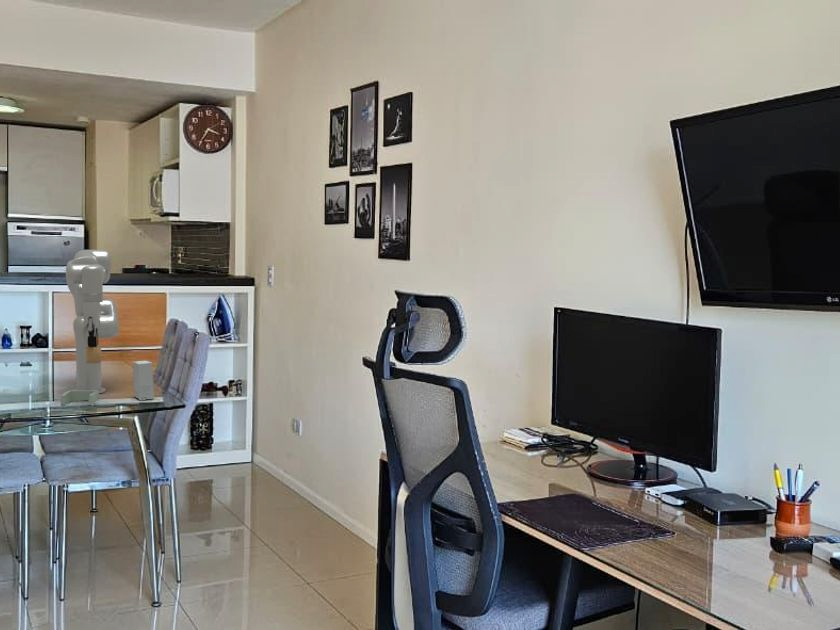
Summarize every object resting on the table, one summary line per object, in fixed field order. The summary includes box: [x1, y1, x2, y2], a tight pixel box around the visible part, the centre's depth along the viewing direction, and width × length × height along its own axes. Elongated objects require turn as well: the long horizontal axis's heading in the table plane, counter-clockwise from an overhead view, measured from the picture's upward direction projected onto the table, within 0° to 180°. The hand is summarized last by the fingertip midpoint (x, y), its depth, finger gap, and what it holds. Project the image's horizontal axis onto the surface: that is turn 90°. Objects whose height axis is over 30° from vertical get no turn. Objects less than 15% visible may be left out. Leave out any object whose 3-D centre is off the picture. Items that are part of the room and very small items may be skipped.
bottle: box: [86, 334, 102, 364], centre depth 344 cm, size 6×6×11 cm
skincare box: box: [132, 360, 155, 401], centre depth 354 cm, size 8×6×15 cm
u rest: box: [60, 389, 100, 407], centre depth 344 cm, size 10×11×4 cm
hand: (93, 345), depth 344 cm, fingers closed on bottle, 3 cm apart
